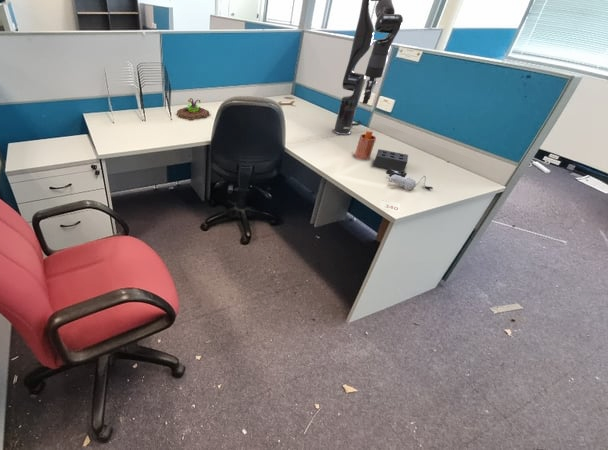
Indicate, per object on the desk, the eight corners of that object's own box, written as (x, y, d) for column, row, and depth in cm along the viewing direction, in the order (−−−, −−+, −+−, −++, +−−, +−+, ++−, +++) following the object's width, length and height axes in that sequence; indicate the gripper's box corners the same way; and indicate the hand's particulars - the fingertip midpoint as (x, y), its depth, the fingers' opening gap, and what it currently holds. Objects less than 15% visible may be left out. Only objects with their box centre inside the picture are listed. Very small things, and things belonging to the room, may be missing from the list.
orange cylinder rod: (359, 154, 172) (366, 130, 166) (365, 156, 171) (372, 131, 165) (358, 156, 170) (366, 131, 164) (365, 157, 169) (372, 132, 163)
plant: (171, 114, 222) (171, 97, 216) (193, 108, 233) (193, 92, 227) (191, 121, 211) (190, 103, 204) (213, 115, 221) (213, 98, 215)
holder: (374, 160, 168) (378, 149, 165) (403, 166, 163) (408, 154, 160) (372, 167, 161) (376, 155, 158) (402, 173, 156) (407, 162, 153)
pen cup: (355, 153, 175) (361, 133, 168) (370, 156, 172) (376, 135, 165) (353, 158, 169) (359, 137, 163) (368, 161, 167) (375, 140, 160)
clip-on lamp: (421, 188, 151) (383, 174, 152) (430, 176, 147) (390, 162, 149) (429, 199, 141) (388, 184, 142) (438, 186, 137) (396, 171, 139)
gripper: (369, 62, 158) (359, 97, 168) (365, 66, 148) (355, 103, 157) (386, 63, 155) (375, 99, 165) (383, 68, 145) (372, 106, 155)
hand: (365, 101), depth 161 cm, fingers open, 8 cm apart
